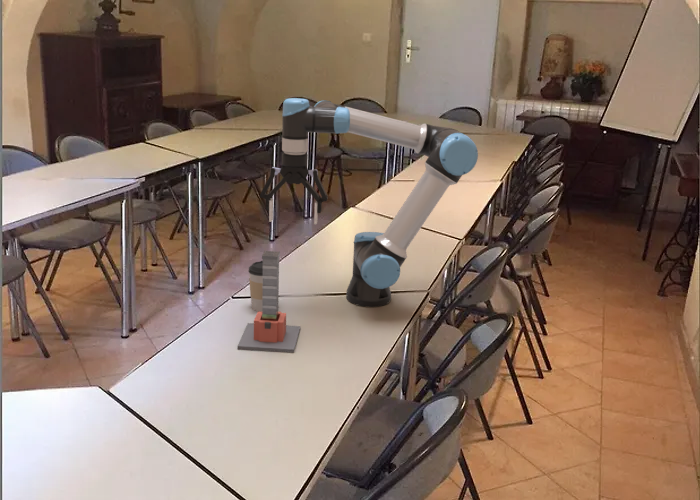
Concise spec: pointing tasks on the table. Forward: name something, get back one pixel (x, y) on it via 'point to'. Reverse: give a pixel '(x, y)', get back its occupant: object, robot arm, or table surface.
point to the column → (270, 284)
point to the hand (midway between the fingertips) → (293, 222)
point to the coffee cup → (256, 285)
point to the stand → (269, 335)
